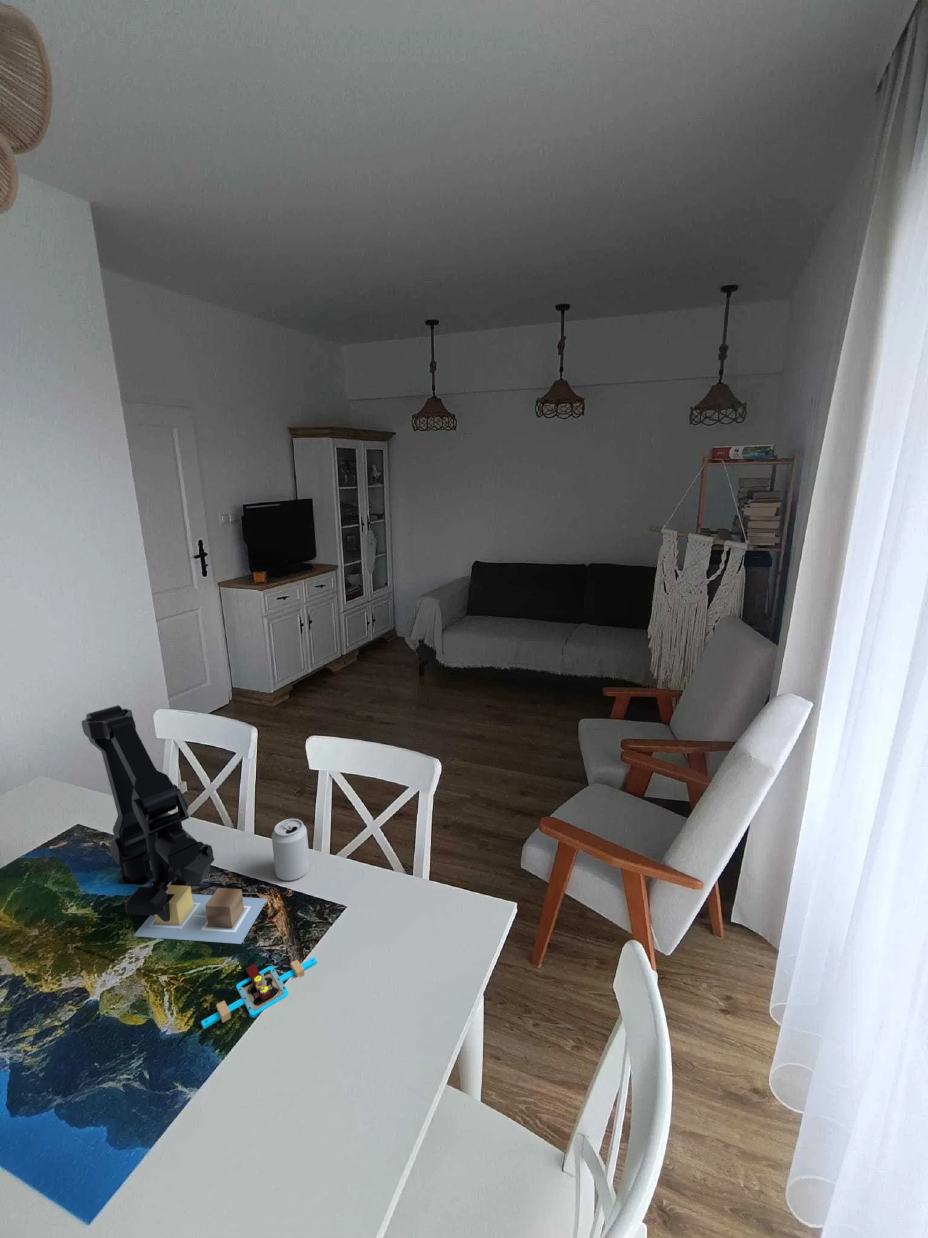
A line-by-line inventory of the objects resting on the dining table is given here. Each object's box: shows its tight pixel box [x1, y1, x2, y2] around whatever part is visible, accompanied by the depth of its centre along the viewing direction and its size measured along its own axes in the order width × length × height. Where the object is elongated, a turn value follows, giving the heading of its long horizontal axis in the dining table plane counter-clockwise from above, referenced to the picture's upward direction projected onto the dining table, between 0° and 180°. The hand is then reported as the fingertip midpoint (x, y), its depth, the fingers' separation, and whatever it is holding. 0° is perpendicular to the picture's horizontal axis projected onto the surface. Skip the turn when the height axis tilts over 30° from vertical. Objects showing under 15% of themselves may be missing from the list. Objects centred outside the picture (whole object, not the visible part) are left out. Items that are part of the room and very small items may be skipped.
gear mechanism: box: [200, 956, 318, 1030], centre depth 101 cm, size 20×5×9 cm
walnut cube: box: [205, 887, 244, 928], centre depth 116 cm, size 5×5×5 cm
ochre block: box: [155, 884, 193, 925], centre depth 117 cm, size 5×5×5 cm
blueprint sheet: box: [133, 893, 268, 945], centre depth 117 cm, size 22×12×1 cm, turn 84°
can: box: [271, 818, 311, 882], centre depth 129 cm, size 8×8×12 cm
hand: (174, 911), depth 118 cm, fingers closed on ochre block, 5 cm apart
